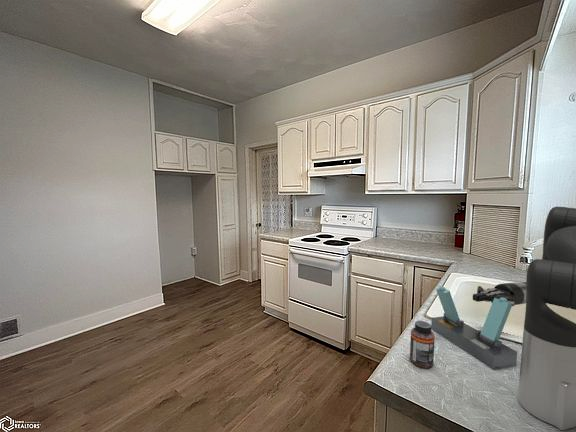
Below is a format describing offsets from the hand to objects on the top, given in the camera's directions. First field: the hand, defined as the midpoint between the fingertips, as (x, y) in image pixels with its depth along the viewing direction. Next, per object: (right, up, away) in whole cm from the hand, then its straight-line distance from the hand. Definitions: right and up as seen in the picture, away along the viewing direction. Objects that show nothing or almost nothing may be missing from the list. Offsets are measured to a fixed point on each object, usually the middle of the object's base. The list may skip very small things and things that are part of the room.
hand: (474, 297), depth 88 cm
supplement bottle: (-27, -13, -16) cm, 34 cm away
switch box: (-7, -13, -7) cm, 16 cm away
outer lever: (-8, -7, -2) cm, 11 cm away
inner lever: (-6, -8, -13) cm, 16 cm away
